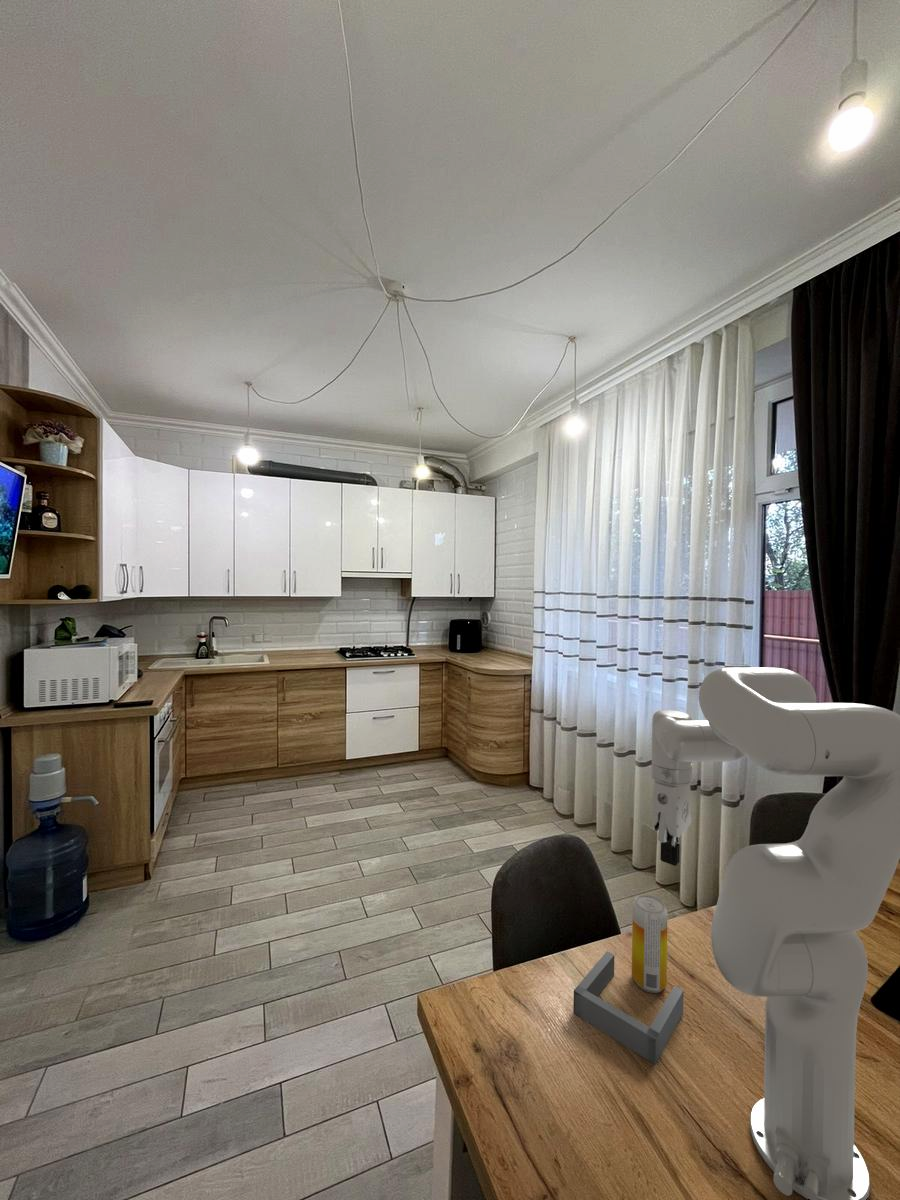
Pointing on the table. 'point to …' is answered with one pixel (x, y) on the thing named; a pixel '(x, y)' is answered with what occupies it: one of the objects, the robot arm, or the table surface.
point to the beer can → (649, 943)
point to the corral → (619, 1023)
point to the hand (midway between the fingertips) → (669, 861)
